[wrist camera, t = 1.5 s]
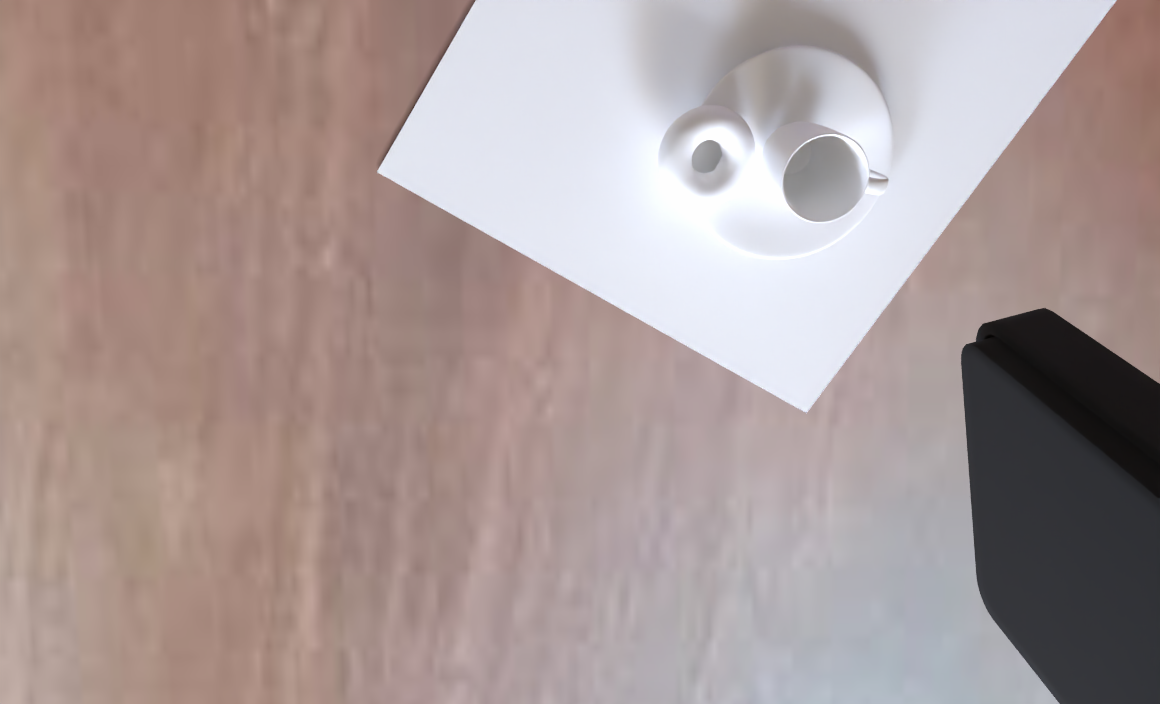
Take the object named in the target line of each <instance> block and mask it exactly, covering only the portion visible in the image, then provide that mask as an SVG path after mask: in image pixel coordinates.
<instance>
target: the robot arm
mask: <svg viewBox="0 0 1160 704" xmlns="http://www.w3.org/2000/svg"><path fill="white" fill-rule="evenodd" d="M961 366H962V380H963V394H964V408H965V422H966V436H967V450H968V464H969V477H970V491H971V505H972V519H973V533H974V547H975V561H976V575H977V582H978V587H979V591H980V594H981V597H982V599H983V602H984V604H985V606H986V608H987V610H988V612H989V614H990V615H991V617H992V618H993V620H994V621H995V622H996V624H997V625H998V626H999V627H1000V629H1001V630H1002V631H1003V632H1004V634H1005V635H1006V636H1007V637H1008V639H1009V640H1010V641H1011V643H1012V644H1013V645H1014V646H1015V648H1016V649H1017V650H1018V651H1019V653H1020V654H1021V655H1022V656H1023V658H1024V659H1025V660H1026V662H1027V663H1028V664H1029V665H1030V667H1031V668H1032V669H1033V670H1034V672H1035V673H1036V674H1037V675H1038V677H1039V678H1040V679H1041V681H1042V682H1043V683H1044V684H1045V686H1046V687H1047V688H1048V689H1049V691H1050V692H1051V693H1052V694H1053V696H1054V697H1055V698H1056V700H1057V701H1058V702H1059V703H1060V704H1160V384H1159V383H1157V382H1156V381H1154V380H1153V379H1151V378H1150V377H1149V376H1147V375H1146V374H1144V373H1143V372H1141V371H1140V370H1138V369H1137V368H1135V367H1134V366H1132V365H1131V364H1129V363H1128V362H1126V361H1125V360H1123V359H1122V358H1120V357H1119V356H1118V355H1116V354H1115V353H1113V352H1112V351H1110V350H1109V349H1107V348H1106V347H1104V346H1103V345H1101V344H1100V343H1098V342H1097V341H1095V340H1094V339H1092V338H1091V337H1089V336H1088V335H1087V334H1085V333H1084V332H1082V331H1081V330H1079V329H1078V328H1076V327H1075V326H1073V325H1072V324H1070V323H1069V322H1067V321H1066V320H1064V319H1063V318H1061V317H1060V316H1058V315H1057V314H1056V313H1054V312H1053V311H1050V310H1048V309H1046V308H1042V309H1037V310H1033V311H1030V312H1026V313H1022V314H1018V315H1015V316H1011V317H1007V318H1003V319H999V320H996V321H992V322H988V323H984V324H982V326H981V327H980V328H979V330H978V333H977V337H976V342H973V343H969V344H966V345H965V346H964V348H963V350H962V354H961Z"/></svg>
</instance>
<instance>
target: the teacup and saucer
mask: <svg viewBox="0 0 1160 704" xmlns="http://www.w3.org/2000/svg"><path fill="white" fill-rule="evenodd" d="M779 125H781V126H780V127H778V128H775V129H772V128H774V127H776V126H779ZM767 135H769V137H768V138H766V139H763V140H760V139H762V138H764V137H765V136H767ZM762 143H764V145H763V146H762V147H759V148H757V147H758V146H759V145H761V144H762ZM760 150H762V151H761V153H760V154H757V155H756V153H758V152H759V151H760ZM893 155H894V126H893V120H892V116H891V112H890V109H889V106H888V103H887V101H886V98H885V96H884V94H883V92H882V91H881V89H880V87H879V86H878V84H877V83H876V82H875V80H874V79H873V78H872V77H871V75H870V74H869V73H868V72H867V71H866V70H865V69H864V68H863V67H861V66H860V65H859V64H858V63H856V62H855V61H854V60H852V59H851V58H849V57H847V56H845V55H843V54H841V53H839V52H837V51H834V50H831V49H828V48H825V47H820V46H814V45H787V46H781V47H776V48H772V49H769V50H766V51H763V52H761V53H758V54H756V55H754V56H752V57H750V58H748V59H746V60H745V61H743V62H741V63H740V64H738V65H737V66H735V67H734V68H733V69H731V70H730V71H729V72H728V73H727V74H725V75H724V76H723V77H722V78H721V79H720V80H719V81H718V82H717V83H716V84H715V85H714V87H713V88H712V89H711V90H710V91H709V93H708V94H707V95H706V97H705V98H704V100H703V101H702V103H701V105H699V106H697V107H694V108H691V109H689V110H687V111H685V112H684V113H682V114H681V115H680V116H678V117H677V118H676V119H675V120H674V121H673V122H672V123H671V124H670V126H669V127H668V128H667V130H666V131H665V133H664V135H663V137H662V139H661V142H660V144H659V148H658V154H657V167H658V172H659V176H660V180H661V182H662V184H663V186H664V188H665V189H666V191H667V192H668V193H669V194H670V195H671V196H672V197H673V198H674V199H675V200H677V201H678V202H680V203H682V204H684V205H686V206H689V207H693V209H694V211H695V213H696V214H697V216H698V218H699V219H700V221H701V222H702V223H703V225H704V226H705V227H706V228H707V229H708V231H709V232H710V233H711V234H712V235H713V236H714V237H716V238H717V239H718V240H719V241H720V242H722V243H723V244H725V245H726V246H728V247H729V248H731V249H733V250H735V251H737V252H739V253H741V254H744V255H747V256H750V257H754V258H758V259H764V260H790V259H797V258H801V257H805V256H809V255H812V254H814V253H817V252H819V251H822V250H824V249H826V248H828V247H830V246H832V245H833V244H835V243H837V242H838V241H840V240H841V239H842V238H844V237H845V236H846V235H848V234H849V233H850V232H851V231H852V230H854V229H855V228H856V227H857V226H858V225H859V224H860V223H861V222H862V221H863V219H864V218H865V217H866V216H867V215H868V213H869V212H870V211H871V209H872V208H873V207H874V205H875V204H876V202H877V200H878V199H879V197H880V196H881V195H883V194H884V193H885V192H886V191H887V188H888V186H889V182H890V179H889V177H888V176H889V173H890V170H891V166H892V161H893ZM759 157H761V160H759V161H756V160H757V159H758V158H759ZM760 163H761V166H760V167H757V166H758V165H759V164H760Z"/></svg>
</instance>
